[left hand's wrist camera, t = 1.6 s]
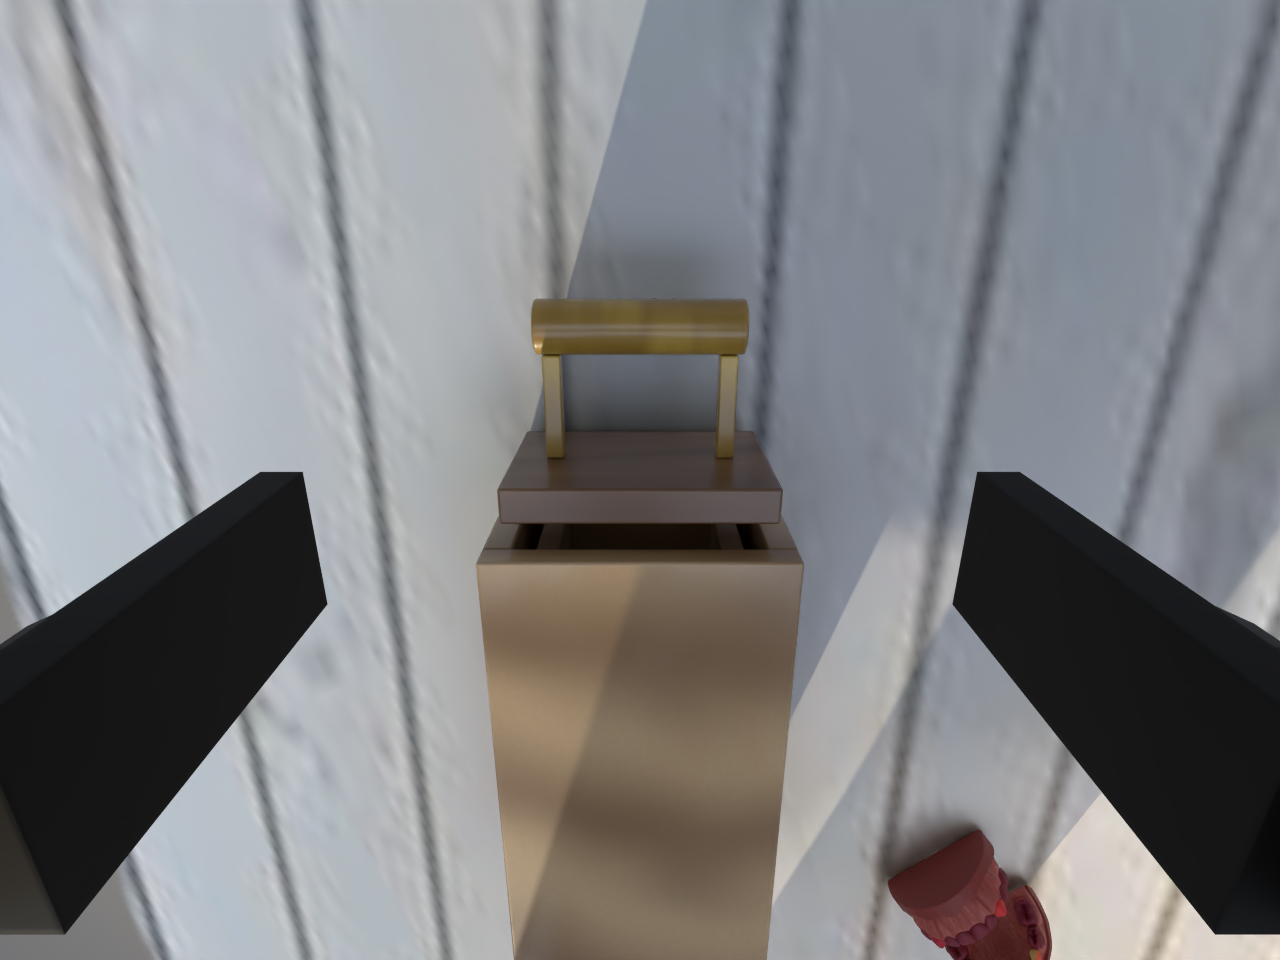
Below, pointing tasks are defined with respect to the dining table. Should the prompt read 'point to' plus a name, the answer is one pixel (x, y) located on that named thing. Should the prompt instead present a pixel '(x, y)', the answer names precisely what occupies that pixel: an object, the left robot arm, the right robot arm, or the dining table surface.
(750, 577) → the cabinet
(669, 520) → the drawer
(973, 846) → the dental model
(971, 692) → the dining table surface
